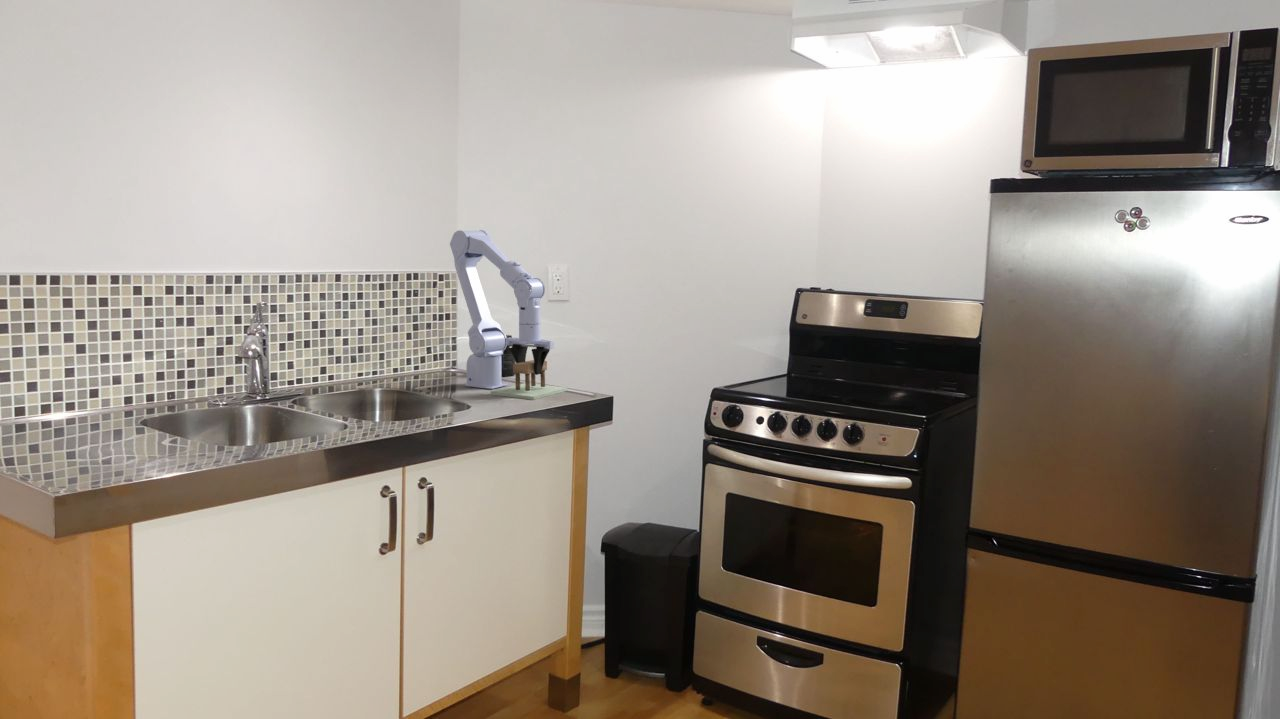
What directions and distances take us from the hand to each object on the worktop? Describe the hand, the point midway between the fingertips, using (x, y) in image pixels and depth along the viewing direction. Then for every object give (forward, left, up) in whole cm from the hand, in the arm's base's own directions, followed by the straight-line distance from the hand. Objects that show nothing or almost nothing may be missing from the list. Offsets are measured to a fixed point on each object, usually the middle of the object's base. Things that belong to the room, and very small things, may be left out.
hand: (529, 373), depth 262 cm
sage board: (0, 0, -5) cm, 5 cm away
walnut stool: (0, 0, -4) cm, 4 cm away
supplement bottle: (-23, +20, -6) cm, 31 cm away
